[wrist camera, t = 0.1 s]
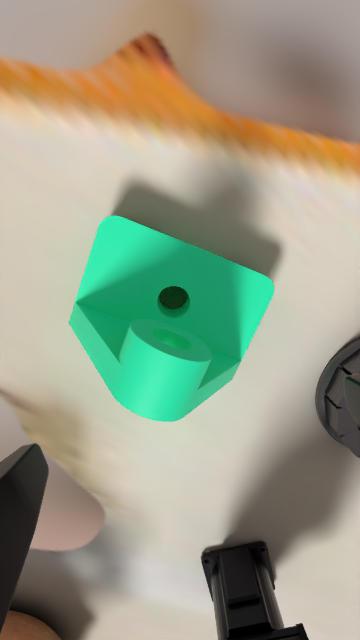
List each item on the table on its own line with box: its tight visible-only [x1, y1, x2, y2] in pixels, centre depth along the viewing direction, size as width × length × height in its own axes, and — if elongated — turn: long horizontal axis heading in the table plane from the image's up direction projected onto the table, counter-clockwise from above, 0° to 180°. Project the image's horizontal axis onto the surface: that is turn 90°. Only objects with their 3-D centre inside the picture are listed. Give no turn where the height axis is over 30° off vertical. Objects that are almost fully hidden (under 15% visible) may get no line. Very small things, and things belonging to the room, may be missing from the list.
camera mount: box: [69, 216, 274, 421], centre depth 18 cm, size 12×8×10 cm, turn 68°
